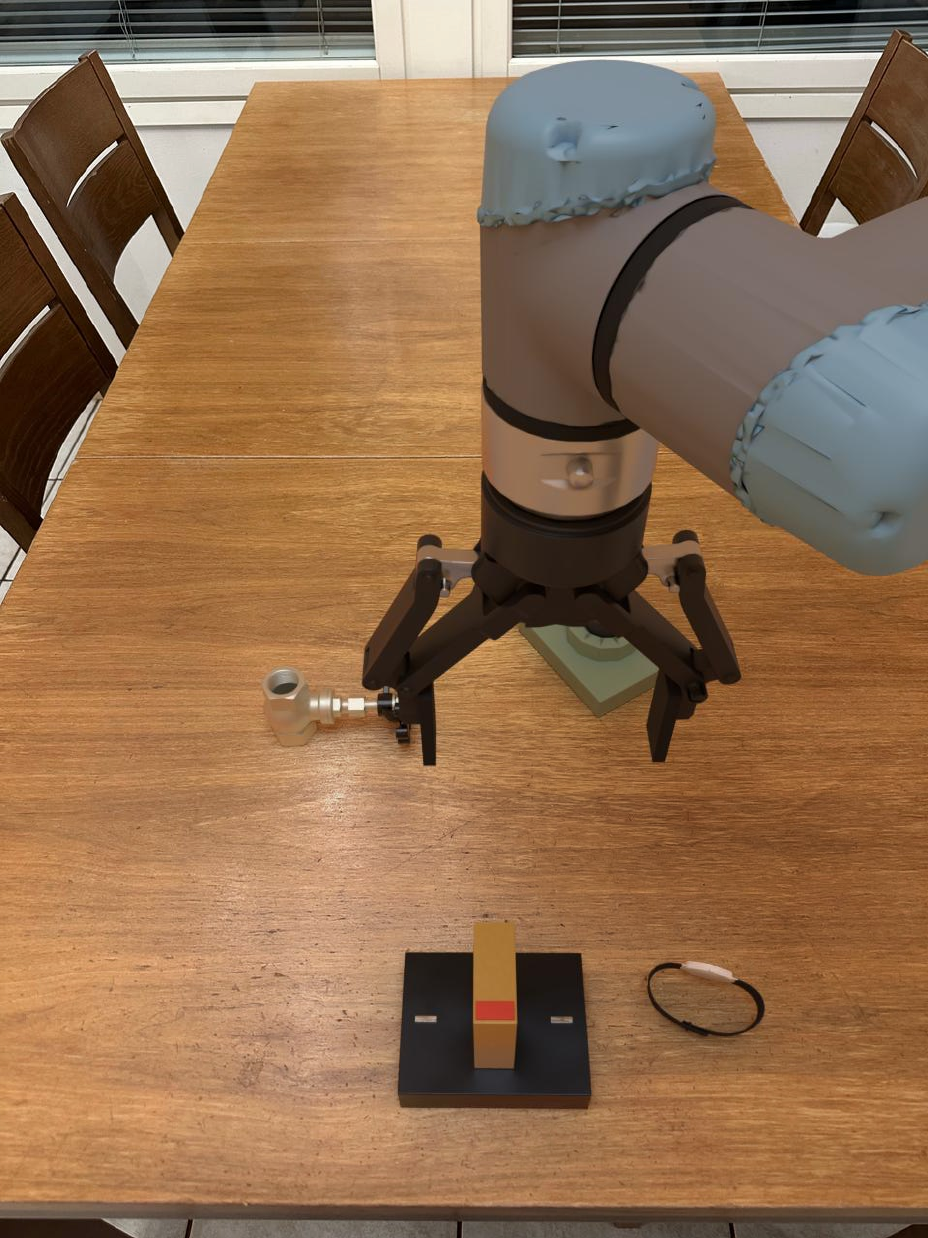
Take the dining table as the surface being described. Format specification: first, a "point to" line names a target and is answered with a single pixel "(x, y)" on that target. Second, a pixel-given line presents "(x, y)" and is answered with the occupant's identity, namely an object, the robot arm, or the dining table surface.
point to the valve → (318, 707)
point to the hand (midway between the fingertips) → (542, 745)
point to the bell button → (598, 629)
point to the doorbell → (594, 665)
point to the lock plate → (445, 1043)
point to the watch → (711, 974)
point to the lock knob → (494, 995)
